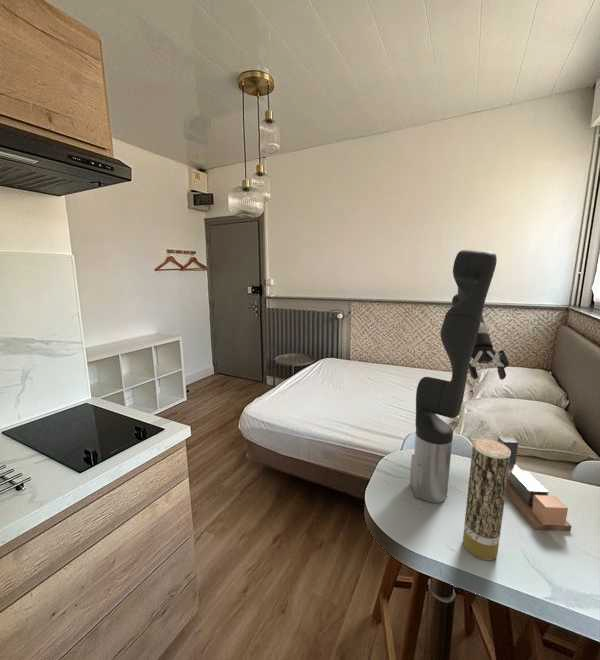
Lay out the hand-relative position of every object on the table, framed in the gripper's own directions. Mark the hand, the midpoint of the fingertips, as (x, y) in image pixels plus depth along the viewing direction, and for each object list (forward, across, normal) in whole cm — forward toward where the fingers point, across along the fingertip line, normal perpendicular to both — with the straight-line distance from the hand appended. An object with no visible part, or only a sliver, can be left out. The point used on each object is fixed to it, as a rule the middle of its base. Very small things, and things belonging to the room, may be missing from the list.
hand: (489, 378), depth 104 cm
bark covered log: (+47, -19, -14) cm, 53 cm away
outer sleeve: (+35, 0, -2) cm, 35 cm away
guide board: (+36, 0, -1) cm, 36 cm away
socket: (+40, 0, -8) cm, 41 cm away
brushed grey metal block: (+32, 0, 0) cm, 32 cm away
